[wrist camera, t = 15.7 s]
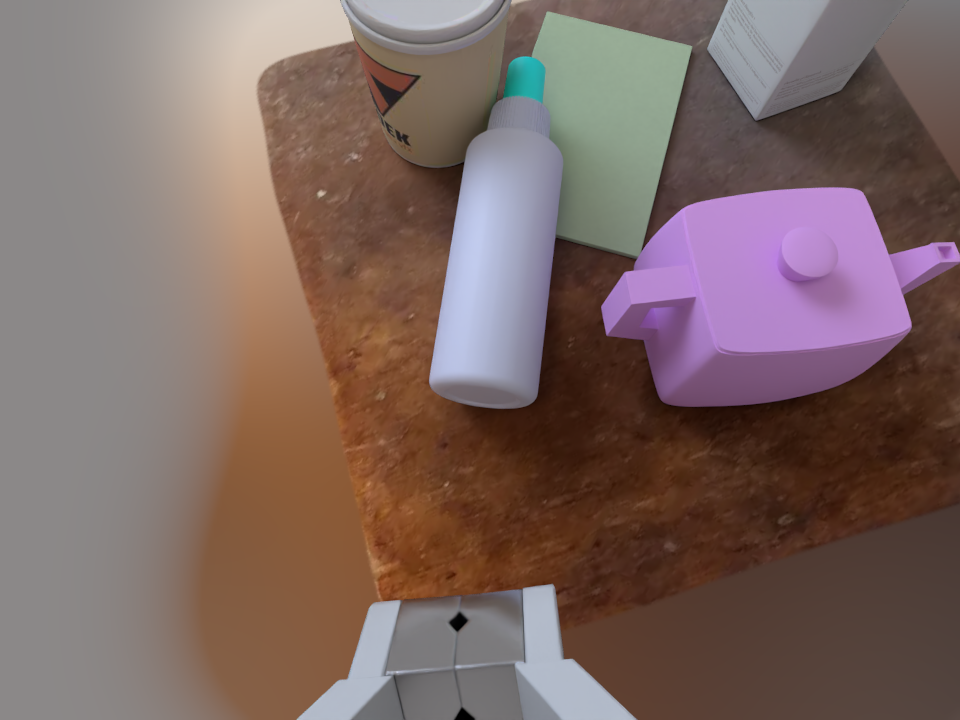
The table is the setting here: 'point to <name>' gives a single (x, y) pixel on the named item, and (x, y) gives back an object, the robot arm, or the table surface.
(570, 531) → the table surface
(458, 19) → the coffee cup
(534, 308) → the spray bottle
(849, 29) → the white packaging box
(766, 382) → the teapot
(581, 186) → the mat
